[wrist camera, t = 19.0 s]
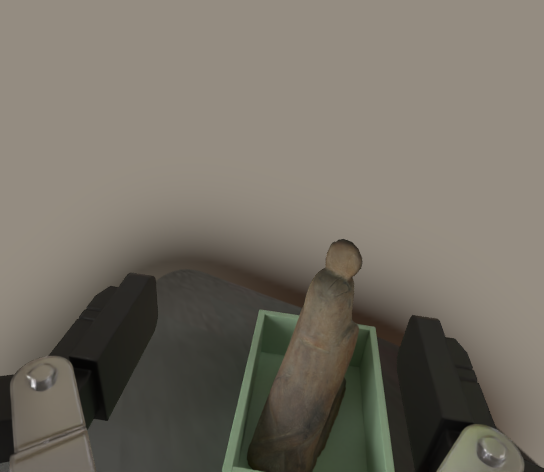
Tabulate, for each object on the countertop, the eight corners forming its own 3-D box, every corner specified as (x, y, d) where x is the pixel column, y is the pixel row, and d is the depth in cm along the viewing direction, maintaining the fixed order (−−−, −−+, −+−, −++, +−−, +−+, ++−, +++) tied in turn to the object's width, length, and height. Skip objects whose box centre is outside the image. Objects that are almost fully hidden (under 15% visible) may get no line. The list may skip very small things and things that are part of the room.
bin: (219, 518, 29) (221, 473, 26) (255, 350, 43) (259, 309, 40) (380, 548, 28) (399, 504, 26) (363, 367, 42) (375, 326, 40)
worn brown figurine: (300, 387, 42) (342, 218, 36) (350, 414, 40) (404, 238, 34) (232, 464, 32) (275, 248, 26) (294, 506, 30) (356, 280, 24)
